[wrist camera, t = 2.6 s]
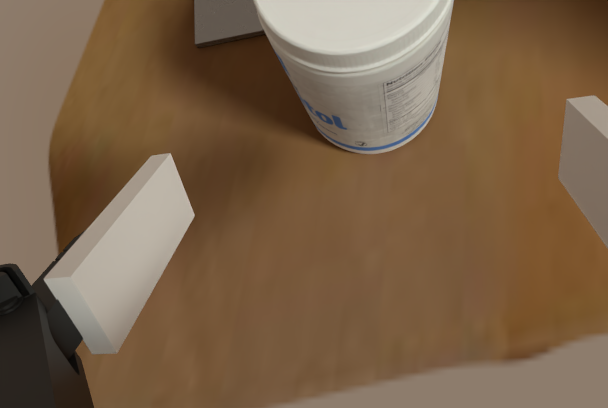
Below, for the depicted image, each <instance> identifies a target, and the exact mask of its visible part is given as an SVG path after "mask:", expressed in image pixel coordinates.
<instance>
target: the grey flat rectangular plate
mask: <svg viewBox="0 0 608 408" xmlns="http://www.w3.org/2000/svg"><path fill="white" fill-rule="evenodd" d="M194 14H195V45H196V46H197V47H198V48H200V47H205V46H210V45H215V44H220V43H225V42H230V41H235V40H240V39H245V38H250V37H255V36H260V35H265V31H264V30H263V28H262V25H261V23H260V20H259V17H258V14H257V9H256V7H255V4H254V1H253V0H194Z"/></svg>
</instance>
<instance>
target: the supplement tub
mask: <svg viewBox="0 0 608 408" xmlns="http://www.w3.org/2000/svg"><path fill="white" fill-rule="evenodd" d="M253 1H254V4H255V7H256V9H257V14H258V17H259V20H260V23H261V25H262V28H263V30H264V31H265V34H266V36H267V37H268V39H269V41H270V44H271V45H272V47H273V49H274V51H275V53H276V55H277V57H278V59H279V61H280V62H281V64H282V66H283V68H284V70H285V72H286V74H287V75H288V77H289V79H290V81H291V83H292V85H293V87H294V88H295V90H296V92H297V94H298V96H299V98H300V99H301V101H302V103H303V105H304V107H305V109H306V111H307V112H308V114H309V116H310V118H311V120H312V121H313V123H314V125H315V126H316V128H317V129H318V131H319V132H320V133H321V134H322V135H323V136H324V137H325V138H326V139H327V140H329V141H330V142H331V143H333V144H335V145H336V146H338V147H340V148H343V149H345V150H348V151H351V152H355V153H361V154H377V153H383V152H388V151H391V150H394V149H396V148H398V147H401V146H403V145H404V144H406V143H408V142H409V141H410V140H412V139H413V138H414V137H416V136H417V135H418V134H419V133H420V132H421V131H422V130H423V128H424V127H425V126H426V125H427V123H428V122H429V120H430V118H431V116H432V114H433V112H434V109H435V106H436V103H437V99H438V92H439V86H440V80H441V74H442V68H443V62H444V56H445V50H446V44H447V38H448V32H449V26H450V19H451V13H452V7H453V1H454V0H253Z"/></svg>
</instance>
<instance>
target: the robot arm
mask: <svg viewBox="0 0 608 408" xmlns="http://www.w3.org/2000/svg"><path fill="white" fill-rule="evenodd" d="M558 178H559V180H560V181H561V183H562V184H563V185H564V187H565V188H566V190H567V191H568V193H569V194H570V195H571V197H572V198H573V200H574V201H575V203H576V204H577V205H578V207H579V208H580V210H581V211H582V213H583V214H584V215H585V217H586V218H587V220H588V221H589V223H590V224H591V225H592V227H593V228H594V230H595V231H596V232H597V234H598V235H599V237H600V238H601V240H602V241H603V242H604V244H605V245H606V247H607V248H608V106H607V105H605V104H604V103H603V102H602V101H601V100H599V99H598V98H597V97H596V96H595V95H594V96H587V97H579V98H572V99H567V100H566V110H565V119H564V128H563V138H562V147H561V156H560V166H559V175H558ZM194 216H195V215H194V212H193V210H192V207H191V205H190V202H189V200H188V197H187V194H186V192H185V189H184V187H183V184H182V181H181V179H180V176H179V174H178V171H177V169H176V166H175V163H174V161H173V158H172V156H171V153H168V154H161V155H153V156H151V157H150V158H149V159H148V160H147V161H146V162H145V164H144V165H143V166H142V167H141V168H140V169H139V170H138V172H137V173H136V174H135V175H134V176H133V177H132V178H131V180H130V181H129V182H128V183H127V184H126V185H125V186H124V188H123V189H122V190H121V191H120V192H119V193H118V194H117V195H116V197H115V198H114V199H113V200H112V201H111V202H110V203H109V205H108V206H107V207H106V208H105V209H104V210H103V211H102V213H101V214H100V215H99V216H98V217H97V218H96V219H95V221H94V222H93V223H92V224H91V225H90V226H89V227H88V229H86V230H85V231H84V232H82V233H81V234H79V235H78V236H77V237H75V238H74V239H73V240H72V241H71V242H70V243H69V244H68V245H67V247H66V248H65V249H64V250H63V251H64V252H61V253H60V254H59V255H58V257H57V258H56V259H55V260H56V261H53V262H52V263H51V264H50V266H49V267H48V268H47V269H46V270H45V271H44V272H43V273H42V275H41V276H40V277H39V278H38V279H37V280H36V281H35V282H34V283H33V285H32V286H31V285H30V283H29V282H28V280H27V279H26V278H25V276H24V275H23V273H22V272H21V270H20V269H19V267H18V266H17V265H16V264H4V265H0V408H94V406H93V402H92V398H91V395H90V391H89V387H88V383H87V380H86V376H85V372H84V368H83V365H82V361H81V359H80V357H79V356H78V354H77V353H76V351H75V350H76V348H77V347H78V345H79V344H80V342H81V341H82V339H83V341H84V342H85V344H86V345H87V347H88V348H89V350H90V351H91V353H92V354H111V353H118V351H119V349H120V347H121V345H122V344H123V342H124V340H125V338H126V337H127V335H128V333H129V331H130V330H131V328H132V326H133V324H134V322H135V321H136V319H137V317H138V315H139V314H140V312H141V310H142V308H143V307H144V305H145V303H146V301H147V299H148V298H149V296H150V294H151V292H152V291H153V289H154V287H155V285H156V284H157V282H158V280H159V278H160V276H161V275H162V273H163V271H164V269H165V268H166V266H167V264H168V262H169V261H170V259H171V257H172V255H173V253H174V252H175V250H176V248H177V246H178V245H179V243H180V241H181V239H182V238H183V236H184V234H185V232H186V230H187V229H188V227H189V225H190V223H191V222H192V220H193V218H194Z"/></svg>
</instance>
